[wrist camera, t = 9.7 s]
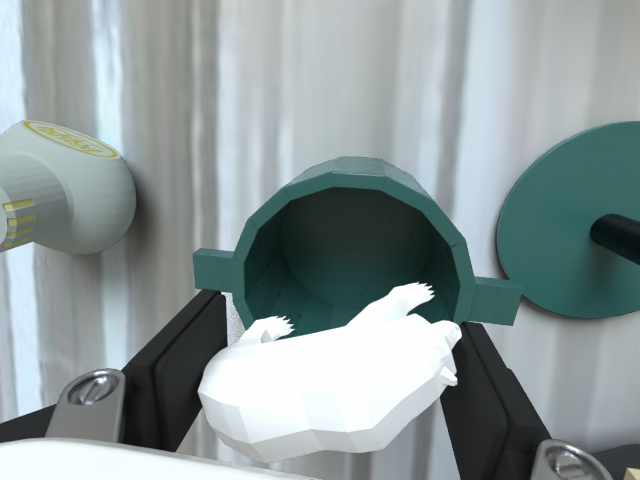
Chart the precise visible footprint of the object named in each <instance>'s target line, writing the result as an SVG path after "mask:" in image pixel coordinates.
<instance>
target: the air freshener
mask: <svg viewBox="0 0 640 480" xmlns="http://www.w3.org/2000/svg"><path fill="white" fill-rule="evenodd" d="M135 209H136V191H135V185H134V181H133V178H132V175H131V173H130V170H129V168H128V166H127V164H126V163H125V161H124V159H123V158H122V156H121V155H120V154H119V153H118V151H116V150H115V149H114V148H112V147H110V146H109V145H107V144H105V143H103V142H101V141H99V140H97V139H95V138H92V137H90V136H88V135H85V134H83V133H80V132H77V131H74V130H71V129H68V128H65V127H62V126H58V125H55V124H51V123H46V122H41V121H34V120H23V121H20V122H18V123H16V124H14V125H12V126H11V127H10V128H9V129H7V130H6V131H5V132H4V133H3V134H2V135H1V136H0V252H3V251H6V250H9V249H12V248H15V247H18V246H21V245H24V244H27V243H30V242H35V243H37V244H40V245H42V246H45V247H48V248H51V249H55V250H59V251H63V252H68V253H76V254H92V253H97V252H100V251H103V250H105V249H107V248H109V247H110V246H112V245H114V244H115V243H116V242H118V241H119V240H120V239H121V238H122V237H123V236H124V234H125V233H126V231H127V230H128V229H129V227H130V225H131V223H132V220H133V218H134V214H135Z"/></svg>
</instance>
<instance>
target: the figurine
mask: <svg viewBox="0 0 640 480" xmlns="http://www.w3.org/2000/svg"><path fill="white" fill-rule="evenodd" d="M418 283H419V282H418ZM418 283H412V284H408V285H405V286H399V287H394V288H393V290H392V291H391V292H390V293H389V295H387V296H385V297H384V298H382V299H379V300H377V301H375V302H373V303H371V304H369V305H368V306H367V307H366V308H365V309H364V310H363V311H362V312H360V313H359V314H358V315H357V316H356V317H355V318H354V319H353V320H351V321H350V322H349V323H348V324H347V325H346V326H344V327H340V328H335V329H331V330H326V331H321V332H317V333H312V334H308V335H303V336H298V337H293V338H288V339H282V340H277V341H274V340H276V339H277V338H279V337H281V336H284V335H288V334H289V333H290V332H291V331H293V330H295V329H291V328H290V327H291V326H292V325H294V324H292V325H290V324H286V323H287V322H288V321H289V320H290V319H289V320H283V319H284V318H285V317H286V316H284V317H282V318H277V317H278V316H276V317H269V318H266V319H260V320H256V321H255V322H254V324H253V325H252V326H251V327H250V328H249V329H248V330H247V331H245V332H244V333H243V335H242V336H241V338H240V339H239V340H238V341H237V342H235V343H233V344H231V345H229V346H228V347H226V348H224V349H222V350H220V351H219V352H218V353H217V354H216V355H215V356H214V357H213V358H212V359H211V360H210V361H209V363H208V364H207V366H206V368H205V370H204V373H203V378H202V381H201V383H200V386H199V389H198V394H199V397H200V400H201V403H202V406H203V409H204V412H205V415H206V418H207V421H208V424H209V425H210V427H211V428H212V429H213V430H214V432H215V433H216V434H217V435H218V436H219V438H220V439H221V440H222V441H223V443H224V444H225V445H227V446H229V447H231V448H232V449H234V450H236V451H238V452H240V453H242V454H243V455H245V456H247V457H249V458H251V459H253V460H257V461H260V462H263V463H267V464H270V463H274V462H278V461H282V460H286V459H290V458H294V457H298V456H302V455H306V454H310V453H313V452H317V451H321V450H333V451H343V452H353V453H364V452H370V451H376V450H382V449H385V448H386V446H387V445H388V444H389V443H390V442H391V441H392V440H393V439H394V438H395V437H396V436H397V435H398V434H399V433H400V432H401V431H402V430H403V429H404V427H405V426H406V425H407V424H408V423H409V422H410V421H411V420H413V419H414V418H415V417H417V416H418V415H419V414H420V413H422V412H423V411H424V410H425V409H427V408H428V407H429V406H430V405H431V404H432V403H433V402H434V401H435V400H436V399H437V398H438V397H439V396H440V395H441V394H442V392H443V391H444V389H445V388H446V386H447V385H451V386H455V385H457V378H456V377H455V376H454V375H455V373H456V372H457V371H456V367H455V363H454V359H453V356H452V352H451V350H452V348H453V347H454V346H455V344H456V343H457V341H458V340H459V339H460V338H461V336H462V334H461V330H460V328H459V326H458V325H457V324H455V323H453V322H450V321H440V322H436V323H433V324H430V323H429V322H428V321H426V320H425V319H424V318H423V317H421V316H419V315H417V314H412V315H409V316H406V315H407V314H408V312H409V311H410V310H412V309H413V308H415V307H416V306H418V305H419V304H421V303H424V302H427V301H429V300H430V299H431V298H432V297H434V296H435V295H430V294H431V293H432V292H434V291H430V290H428V289H429V288H430V287H432V286H430V287H427V286H425V285H426V284H427V283H425V284H419V285H417V284H418ZM424 286H425V287H424Z"/></svg>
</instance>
